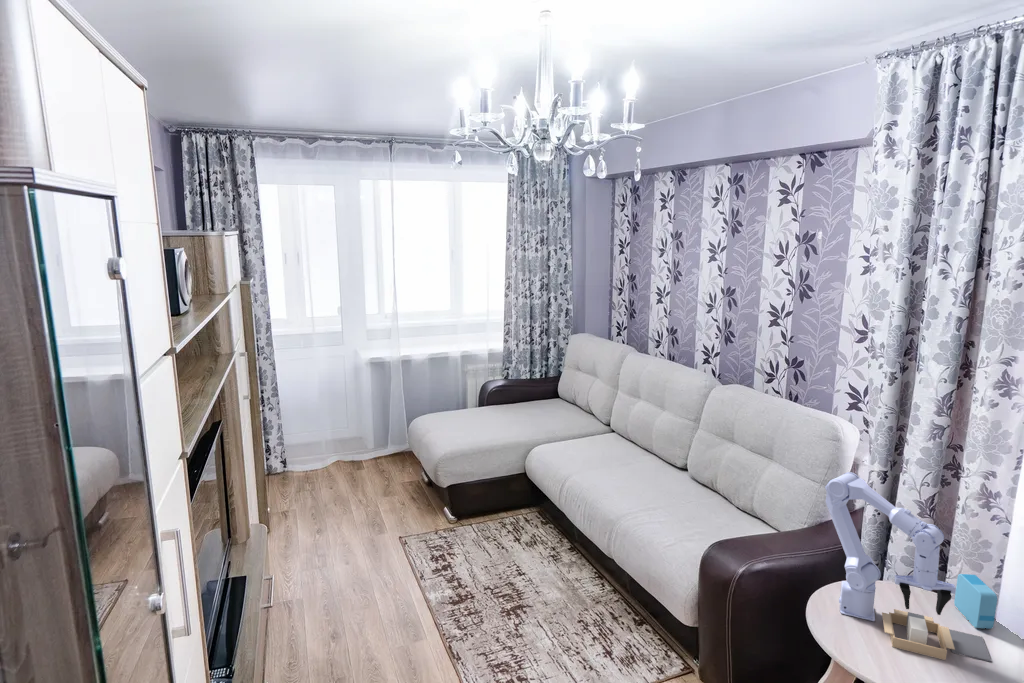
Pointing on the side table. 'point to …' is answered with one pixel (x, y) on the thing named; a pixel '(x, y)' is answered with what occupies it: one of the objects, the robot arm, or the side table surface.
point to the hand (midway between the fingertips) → (922, 610)
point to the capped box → (916, 628)
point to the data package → (975, 601)
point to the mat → (969, 645)
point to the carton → (940, 653)
